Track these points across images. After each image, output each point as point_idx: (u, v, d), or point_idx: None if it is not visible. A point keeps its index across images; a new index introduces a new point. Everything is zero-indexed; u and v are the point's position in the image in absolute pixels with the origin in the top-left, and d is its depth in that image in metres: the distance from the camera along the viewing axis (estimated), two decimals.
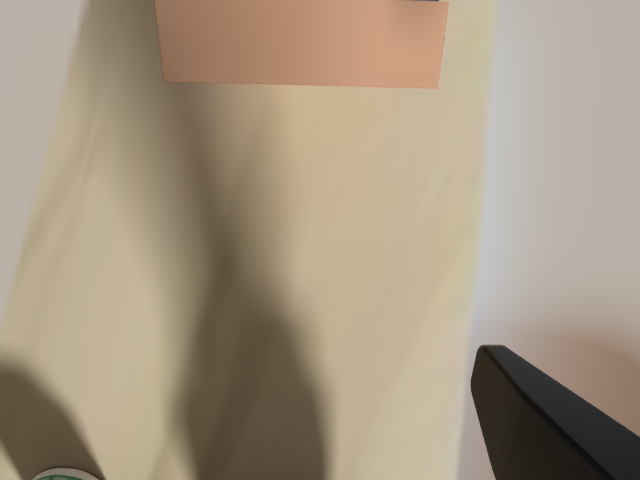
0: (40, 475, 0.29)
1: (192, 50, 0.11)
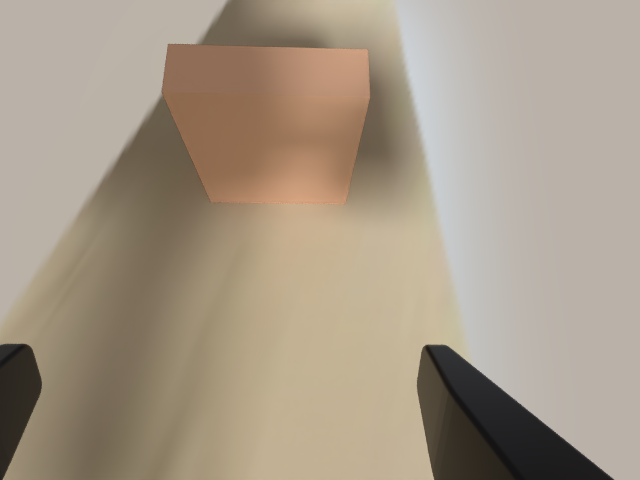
0: None
1: (187, 74, 0.16)
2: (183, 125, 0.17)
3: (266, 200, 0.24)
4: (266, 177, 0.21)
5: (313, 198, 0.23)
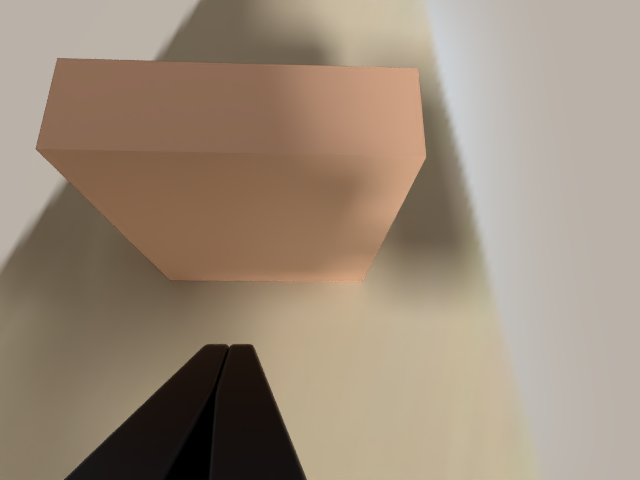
0: None
1: (88, 114, 0.08)
2: (96, 196, 0.10)
3: (249, 279, 0.16)
4: (247, 256, 0.14)
5: (317, 276, 0.16)
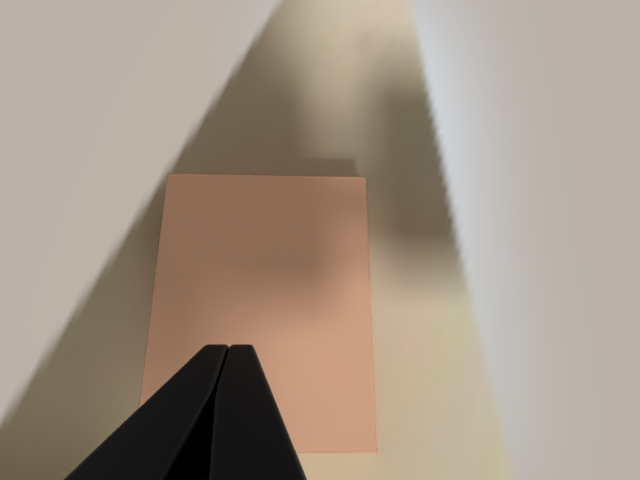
0: None
1: None
2: (168, 225, 0.15)
3: None
4: None
5: (319, 429, 0.14)
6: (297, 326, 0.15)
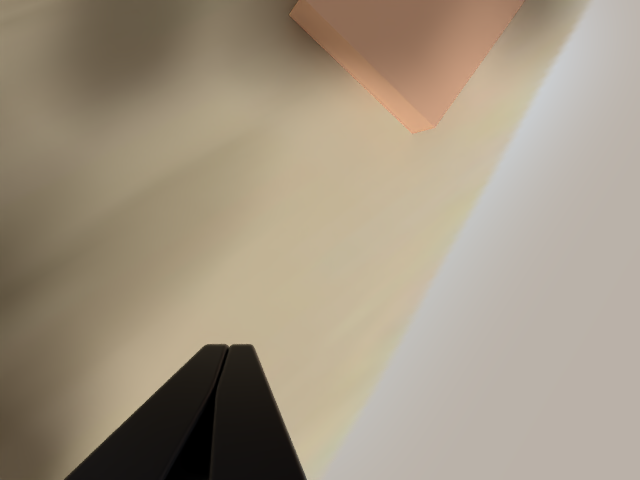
0: None
1: None
2: None
3: (365, 48, 0.17)
4: (407, 0, 0.17)
5: (414, 86, 0.18)
6: (445, 15, 0.18)
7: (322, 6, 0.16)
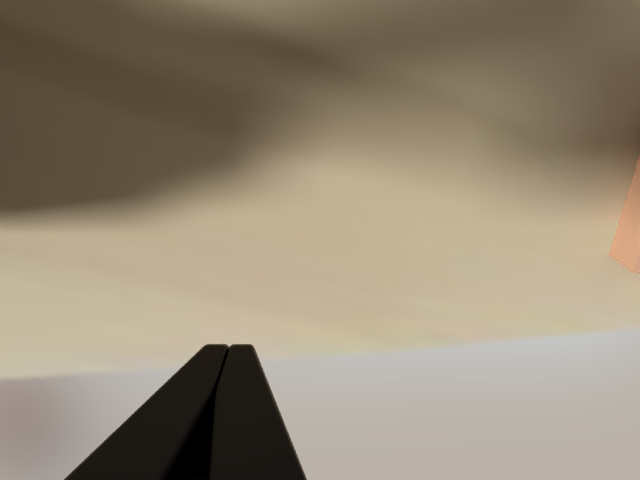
0: None
1: None
2: None
3: None
4: None
5: None
6: None
7: None
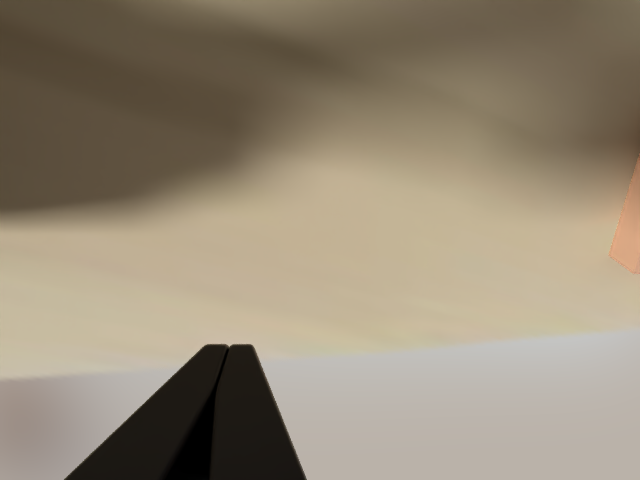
0: None
1: None
2: None
3: None
4: None
5: None
6: None
7: None
